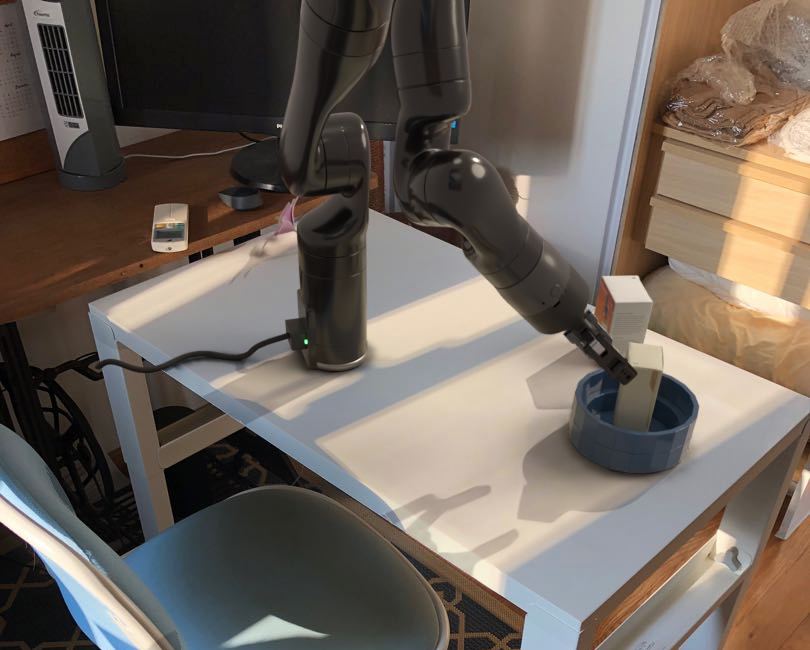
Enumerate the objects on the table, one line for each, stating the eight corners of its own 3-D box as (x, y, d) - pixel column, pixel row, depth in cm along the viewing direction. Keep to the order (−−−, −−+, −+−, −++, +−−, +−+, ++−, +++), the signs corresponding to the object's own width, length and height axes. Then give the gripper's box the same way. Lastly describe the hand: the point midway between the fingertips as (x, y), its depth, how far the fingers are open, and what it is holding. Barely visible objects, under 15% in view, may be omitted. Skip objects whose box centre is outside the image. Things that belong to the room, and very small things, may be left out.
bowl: (599, 486, 113) (609, 443, 108) (549, 415, 123) (556, 374, 119) (709, 465, 116) (722, 424, 112) (651, 398, 127) (661, 358, 123)
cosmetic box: (643, 453, 117) (664, 372, 108) (609, 449, 117) (627, 367, 109) (644, 424, 121) (664, 344, 113) (611, 420, 122) (628, 340, 114)
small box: (588, 339, 138) (600, 274, 131) (624, 338, 139) (638, 274, 131) (601, 368, 132) (614, 302, 125) (638, 367, 133) (654, 301, 126)
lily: (298, 232, 165) (268, 186, 159) (344, 224, 157) (314, 176, 151) (263, 276, 160) (230, 231, 154) (308, 270, 152) (275, 223, 146)
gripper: (490, 278, 106) (566, 350, 116) (539, 342, 96) (617, 414, 107) (538, 230, 103) (611, 308, 114) (593, 289, 94) (667, 369, 104)
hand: (614, 359), depth 110 cm, fingers open, 8 cm apart
